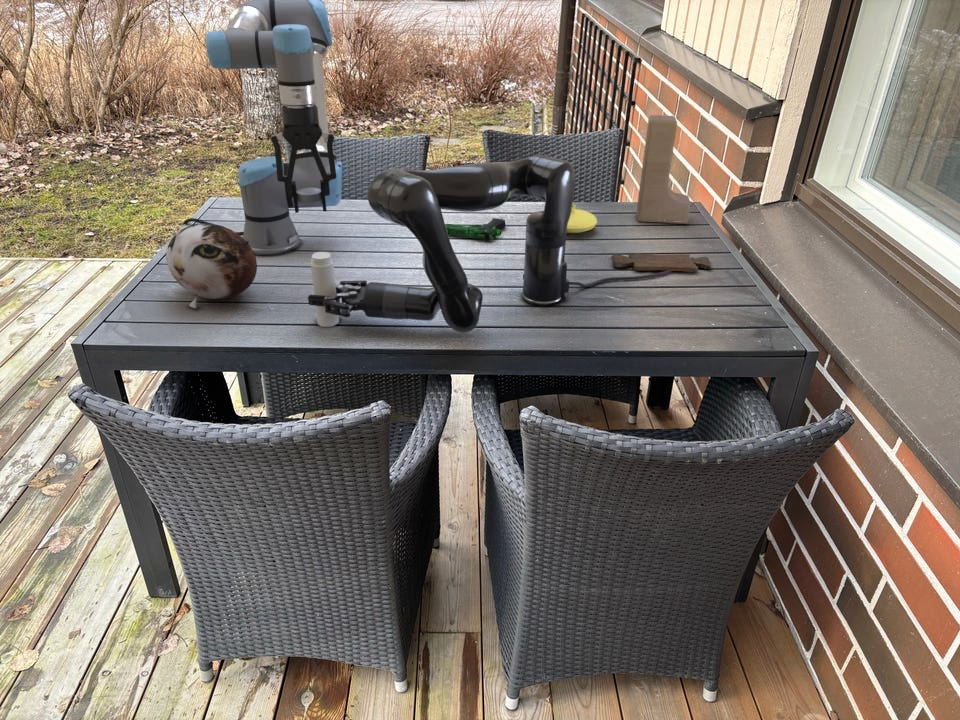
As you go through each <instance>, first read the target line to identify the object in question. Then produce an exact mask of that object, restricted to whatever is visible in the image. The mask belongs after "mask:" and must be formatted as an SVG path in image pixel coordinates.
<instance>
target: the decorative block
mask: <svg viewBox="0 0 960 720" xmlns="http://www.w3.org/2000/svg"><path fill="white" fill-rule="evenodd" d="M677 127H678V121H677V119H676V117H675V116H674V115H659V114H651V115H649V116H648V121H647V128H646V136H645V143H644V151H643V160H642V167H641V175H640V181H639V182H640V183H639V190H638V191H639V192H638V195H637V196H638V197H637V205H636V212H635V213H636V218H637V219H636V220H637V221H638V222H645V223H646V222H647V223H648V222H649V223H664V224H678V225H679V224H680V225H681V224H682V225H686V224H688V222H689V219H690V212H691V207H692V203H691V200H690V198H689V195H688V194H683V193H680V192H679V193H678V192H674V191H673V190H672V189H671V188H670V186H669V181H670V174H671V167H672V160H673V154H674V147H675V140H676V134H677ZM659 220H660V221H659ZM664 220H665V221H664ZM674 221H682V222H674ZM683 221H684V222H683Z"/></svg>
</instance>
